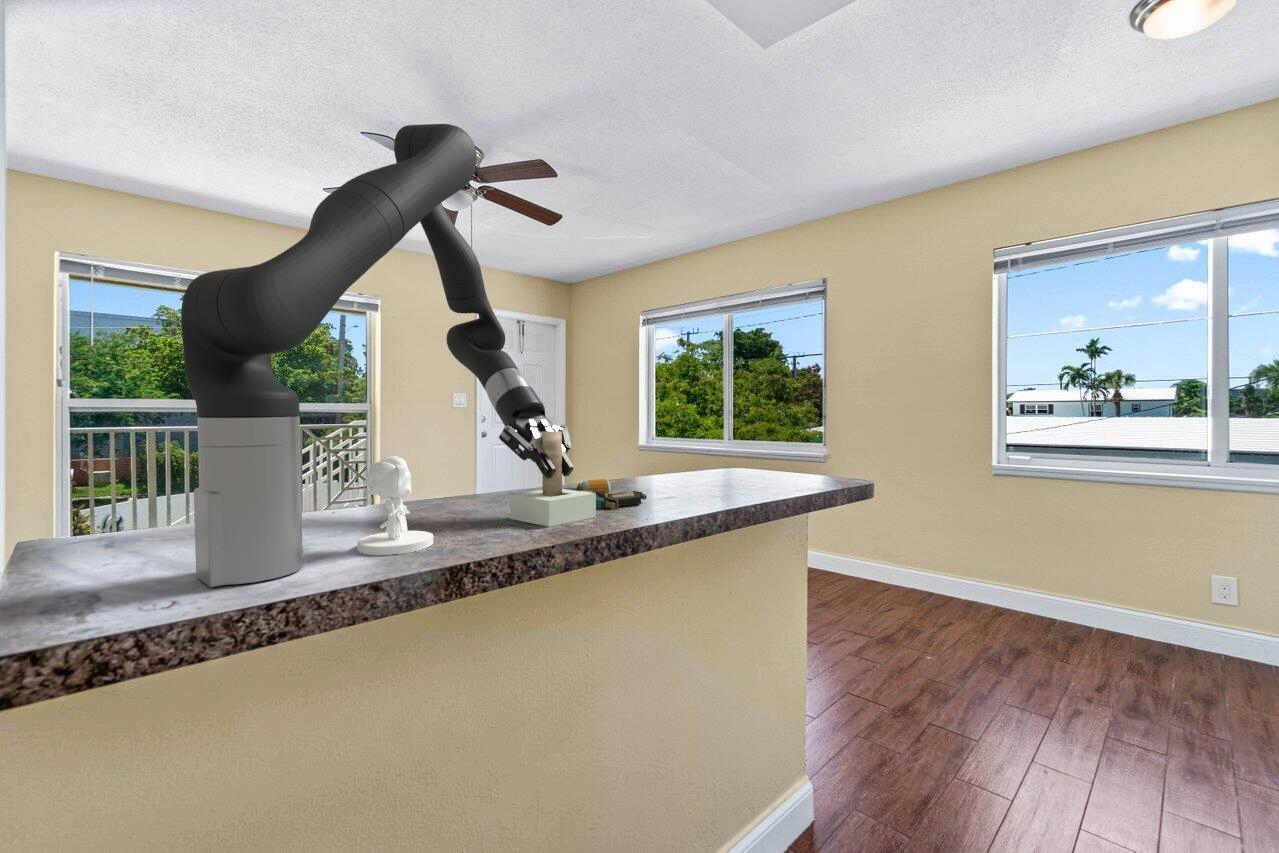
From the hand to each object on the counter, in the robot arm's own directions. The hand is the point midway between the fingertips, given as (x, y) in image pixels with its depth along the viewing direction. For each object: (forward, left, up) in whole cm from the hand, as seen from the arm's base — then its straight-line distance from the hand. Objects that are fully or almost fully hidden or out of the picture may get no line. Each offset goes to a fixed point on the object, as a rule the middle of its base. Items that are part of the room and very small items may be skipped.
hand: (560, 473), depth 92 cm
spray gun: (+16, +7, -8) cm, 19 cm away
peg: (0, +2, -5) cm, 6 cm away
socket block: (0, +2, -7) cm, 8 cm away
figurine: (-26, +3, -8) cm, 27 cm away
